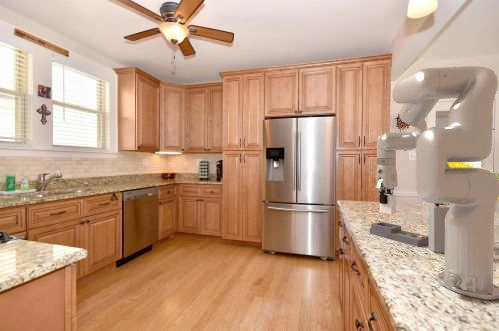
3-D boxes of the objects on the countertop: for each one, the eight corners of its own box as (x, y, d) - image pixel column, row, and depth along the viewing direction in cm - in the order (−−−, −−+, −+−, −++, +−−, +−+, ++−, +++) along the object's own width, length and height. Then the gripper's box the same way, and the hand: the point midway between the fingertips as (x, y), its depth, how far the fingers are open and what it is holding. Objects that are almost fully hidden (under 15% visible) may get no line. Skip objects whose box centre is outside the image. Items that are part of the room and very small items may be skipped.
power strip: (417, 247, 93) (417, 235, 93) (369, 234, 110) (369, 223, 110) (428, 243, 97) (429, 231, 97) (381, 231, 115) (381, 221, 115)
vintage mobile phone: (449, 253, 86) (450, 184, 85) (434, 252, 87) (434, 184, 86) (443, 249, 89) (443, 183, 89) (428, 249, 90) (428, 183, 90)
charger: (391, 214, 104) (391, 195, 103) (379, 212, 108) (379, 194, 108) (395, 213, 106) (396, 195, 106) (384, 211, 110) (384, 193, 110)
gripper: (385, 162, 99) (385, 206, 99) (404, 162, 109) (404, 202, 109) (367, 162, 106) (367, 203, 106) (387, 162, 115) (387, 200, 115)
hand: (386, 202), depth 107 cm, fingers closed on charger, 4 cm apart
